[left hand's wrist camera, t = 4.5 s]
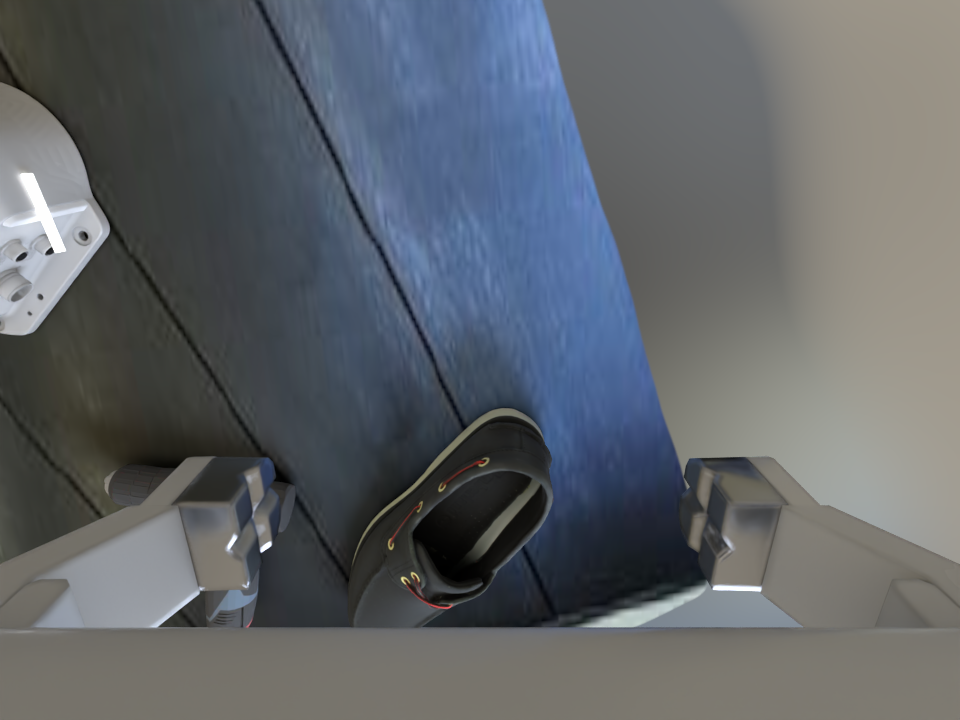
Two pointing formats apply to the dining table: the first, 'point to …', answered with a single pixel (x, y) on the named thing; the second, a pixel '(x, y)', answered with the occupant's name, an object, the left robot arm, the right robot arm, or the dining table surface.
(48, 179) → the left robot arm
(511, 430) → the boat shoe
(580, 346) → the dining table surface
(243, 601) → the power drill
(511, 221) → the dining table surface
